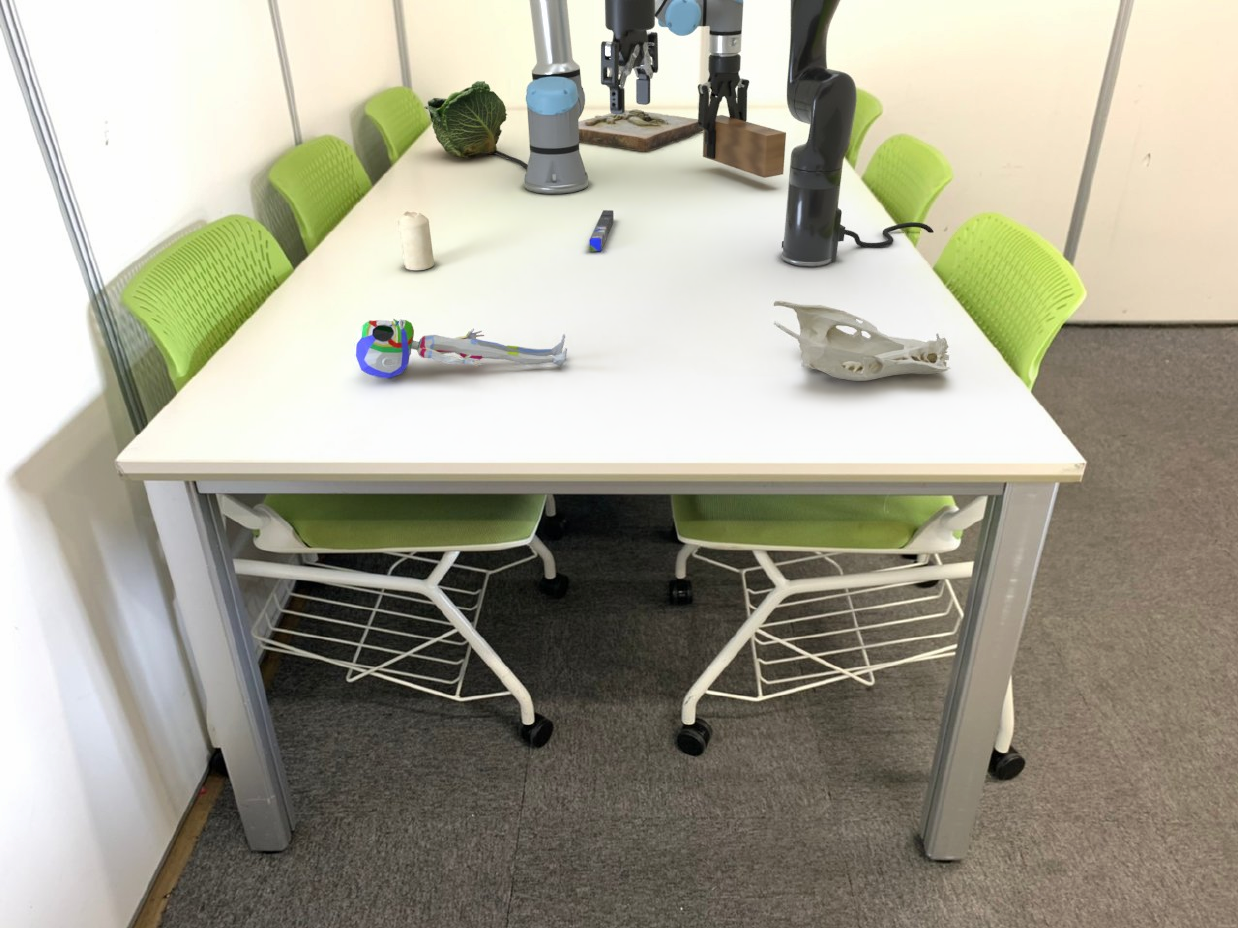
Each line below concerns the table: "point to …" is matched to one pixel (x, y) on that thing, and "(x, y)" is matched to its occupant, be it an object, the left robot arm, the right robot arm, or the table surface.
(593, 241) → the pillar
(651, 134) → the plaque
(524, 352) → the toy
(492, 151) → the vegetable
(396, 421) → the table surface
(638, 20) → the right robot arm
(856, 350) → the anatomical model
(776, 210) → the table surface
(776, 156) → the bar
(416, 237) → the candle
